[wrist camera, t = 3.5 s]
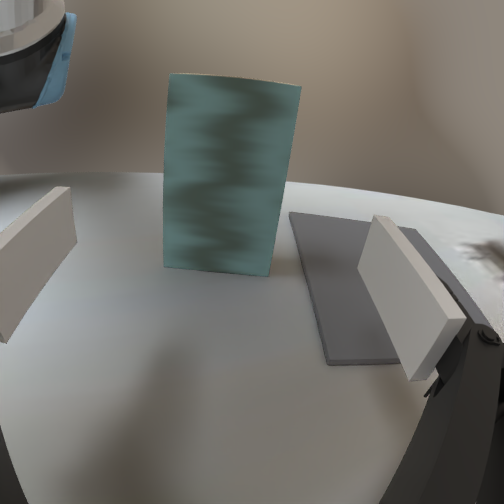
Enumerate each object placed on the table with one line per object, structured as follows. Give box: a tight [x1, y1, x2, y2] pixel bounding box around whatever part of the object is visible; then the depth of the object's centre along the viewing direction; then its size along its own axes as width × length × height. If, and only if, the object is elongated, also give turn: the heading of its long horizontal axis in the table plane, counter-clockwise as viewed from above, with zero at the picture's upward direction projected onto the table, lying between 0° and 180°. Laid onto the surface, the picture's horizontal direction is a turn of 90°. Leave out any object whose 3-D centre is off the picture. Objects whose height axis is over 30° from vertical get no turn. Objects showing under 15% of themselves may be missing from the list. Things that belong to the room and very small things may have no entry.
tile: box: [163, 73, 301, 277], centre depth 22 cm, size 8×3×14 cm, turn 91°
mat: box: [289, 212, 494, 365], centre depth 27 cm, size 16×20×1 cm
